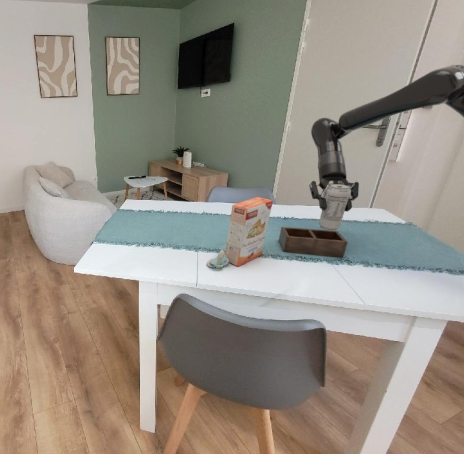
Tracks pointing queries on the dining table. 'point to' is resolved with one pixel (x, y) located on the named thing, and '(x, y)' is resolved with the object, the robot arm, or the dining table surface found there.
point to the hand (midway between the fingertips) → (335, 209)
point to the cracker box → (247, 230)
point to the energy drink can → (334, 207)
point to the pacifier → (218, 260)
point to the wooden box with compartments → (312, 242)
